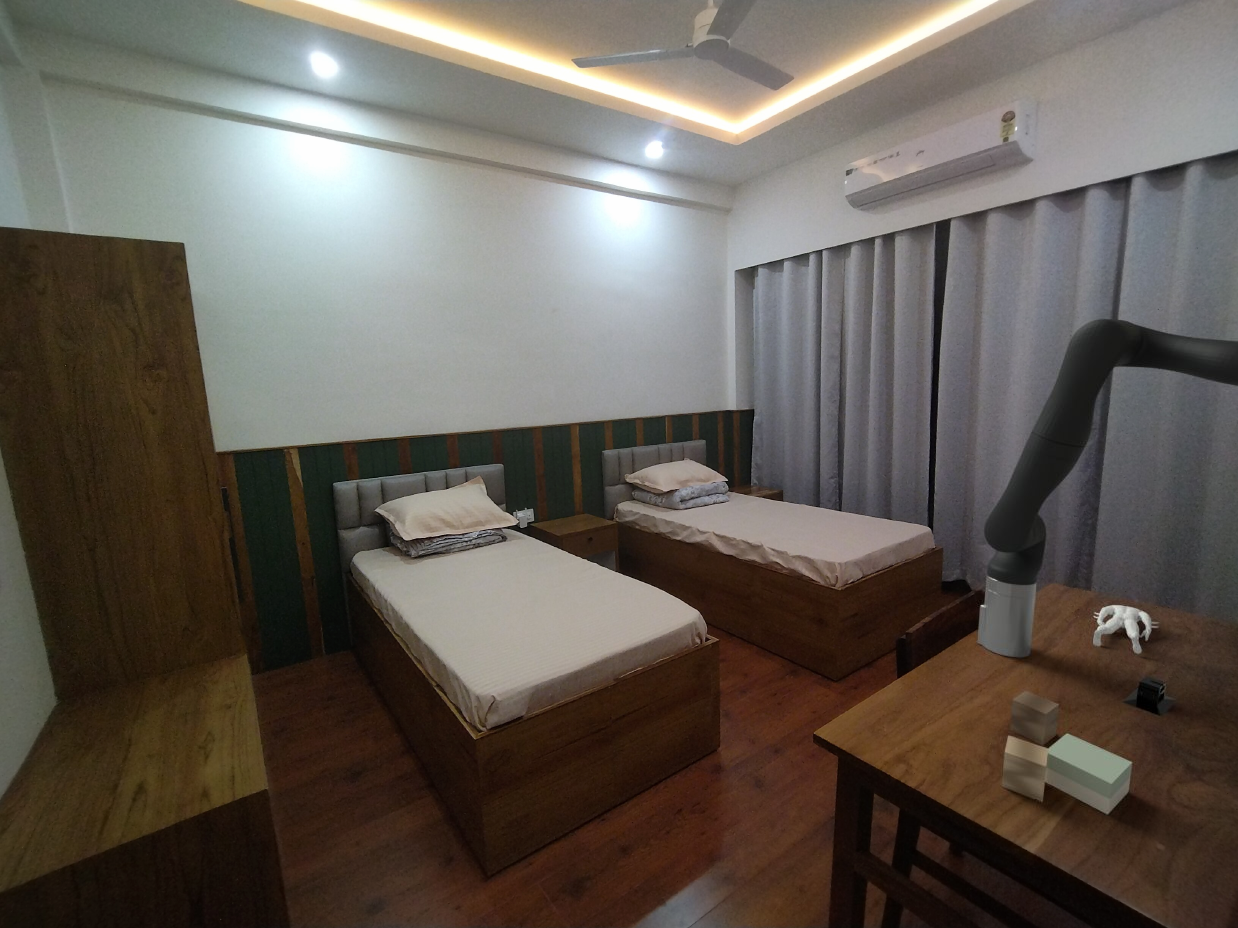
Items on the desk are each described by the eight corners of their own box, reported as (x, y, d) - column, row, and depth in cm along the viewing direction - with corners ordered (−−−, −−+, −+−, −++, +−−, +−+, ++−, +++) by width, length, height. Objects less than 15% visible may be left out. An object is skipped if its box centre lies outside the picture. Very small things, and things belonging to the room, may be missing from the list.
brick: (1001, 786, 82) (1004, 751, 81) (1005, 768, 86) (1008, 735, 85) (1042, 802, 79) (1046, 766, 78) (1044, 783, 83) (1048, 748, 82)
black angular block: (1164, 724, 96) (1167, 701, 95) (1112, 704, 102) (1114, 682, 102) (1185, 701, 102) (1188, 679, 102) (1134, 683, 109) (1137, 663, 108)
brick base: (1041, 779, 83) (1044, 751, 82) (1064, 760, 87) (1067, 733, 86) (1107, 814, 76) (1111, 783, 76) (1128, 791, 80) (1132, 762, 80)
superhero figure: (1148, 664, 117) (1156, 629, 133) (1156, 641, 115) (1163, 608, 132) (1081, 641, 125) (1096, 611, 141) (1087, 619, 124) (1102, 590, 140)
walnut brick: (1009, 729, 95) (1012, 699, 94) (1023, 720, 98) (1025, 690, 97) (1042, 745, 91) (1046, 713, 90) (1055, 735, 93) (1059, 704, 92)
